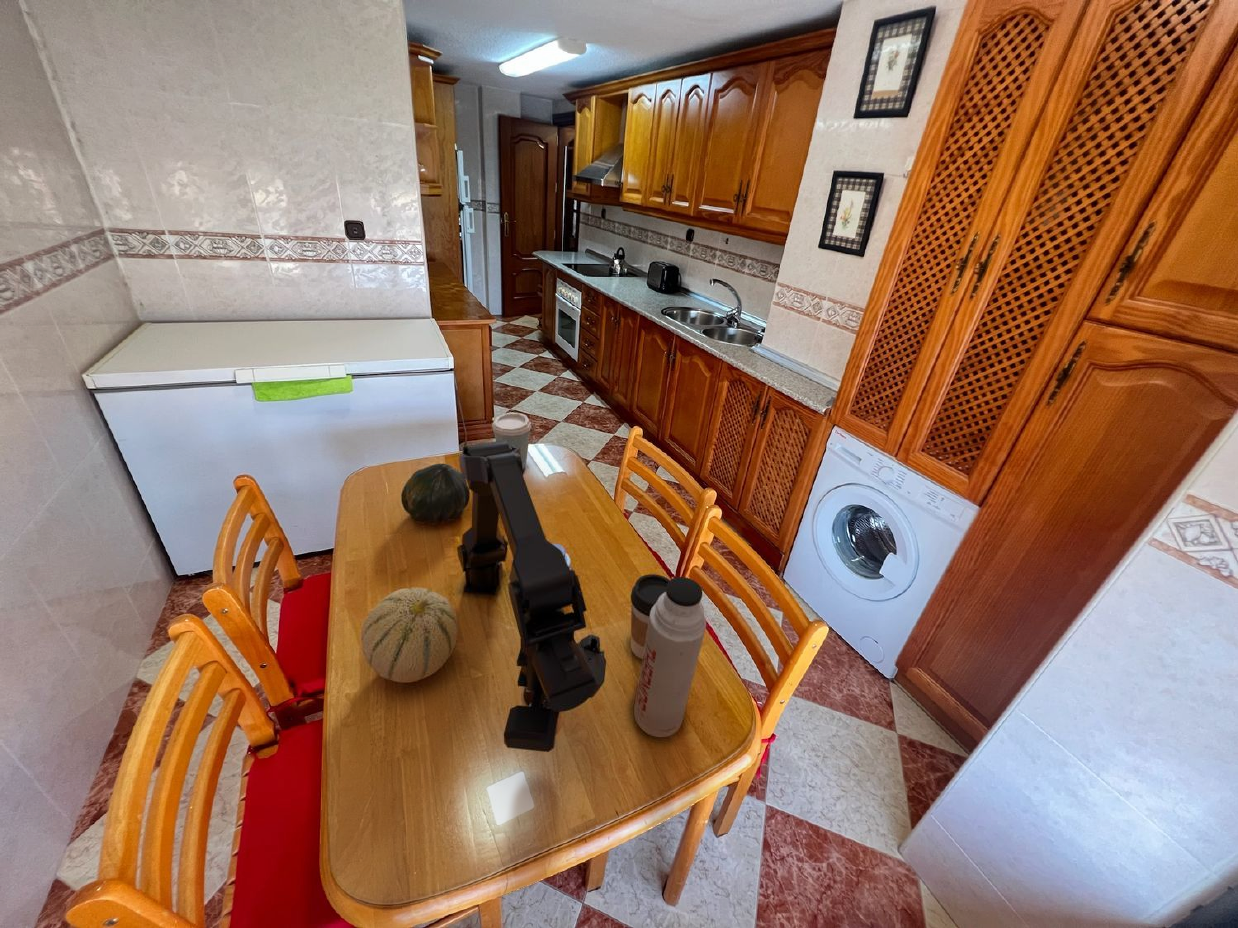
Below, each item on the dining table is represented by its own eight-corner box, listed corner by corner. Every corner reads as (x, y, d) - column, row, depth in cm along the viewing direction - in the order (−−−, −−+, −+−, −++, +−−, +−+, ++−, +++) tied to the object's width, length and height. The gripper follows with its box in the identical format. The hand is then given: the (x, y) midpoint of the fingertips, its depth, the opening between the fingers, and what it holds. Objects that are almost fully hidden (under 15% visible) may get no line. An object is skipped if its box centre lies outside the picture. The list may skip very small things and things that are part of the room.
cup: (517, 739, 71) (516, 710, 67) (526, 701, 76) (525, 672, 73) (558, 744, 71) (560, 715, 67) (565, 705, 76) (566, 676, 73)
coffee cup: (637, 672, 87) (647, 612, 79) (616, 636, 93) (623, 578, 86) (677, 656, 91) (690, 597, 83) (654, 623, 97) (664, 565, 89)
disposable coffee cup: (519, 480, 136) (518, 431, 129) (486, 470, 139) (483, 422, 131) (538, 462, 145) (538, 416, 137) (506, 453, 148) (504, 408, 140)
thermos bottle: (636, 738, 77) (659, 611, 63) (631, 691, 84) (651, 567, 70) (686, 736, 78) (720, 611, 64) (677, 690, 85) (706, 568, 70)
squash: (388, 486, 119) (400, 463, 108) (448, 470, 129) (464, 447, 117) (410, 540, 117) (425, 523, 106) (468, 519, 127) (488, 501, 115)
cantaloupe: (370, 639, 88) (354, 577, 81) (456, 620, 93) (449, 560, 86) (368, 713, 77) (349, 649, 69) (466, 686, 82) (458, 624, 74)
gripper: (597, 716, 56) (589, 788, 64) (609, 596, 72) (602, 665, 80) (500, 706, 56) (504, 779, 64) (533, 588, 73) (534, 658, 80)
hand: (542, 714), depth 72 cm, fingers closed on cup, 6 cm apart
